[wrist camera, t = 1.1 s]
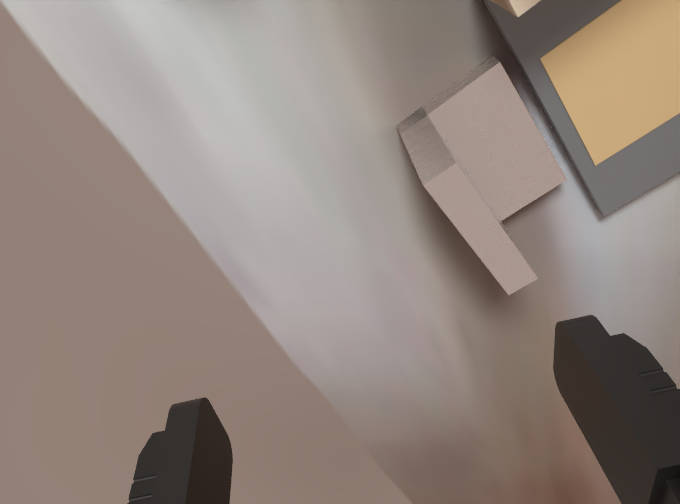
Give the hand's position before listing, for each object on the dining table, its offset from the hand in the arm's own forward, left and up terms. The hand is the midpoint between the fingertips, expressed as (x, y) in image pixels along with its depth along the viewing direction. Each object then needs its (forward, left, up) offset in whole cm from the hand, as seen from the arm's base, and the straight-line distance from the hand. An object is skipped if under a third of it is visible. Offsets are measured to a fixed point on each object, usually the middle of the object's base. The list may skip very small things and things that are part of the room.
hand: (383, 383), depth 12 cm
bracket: (-5, +11, -24) cm, 27 cm away
